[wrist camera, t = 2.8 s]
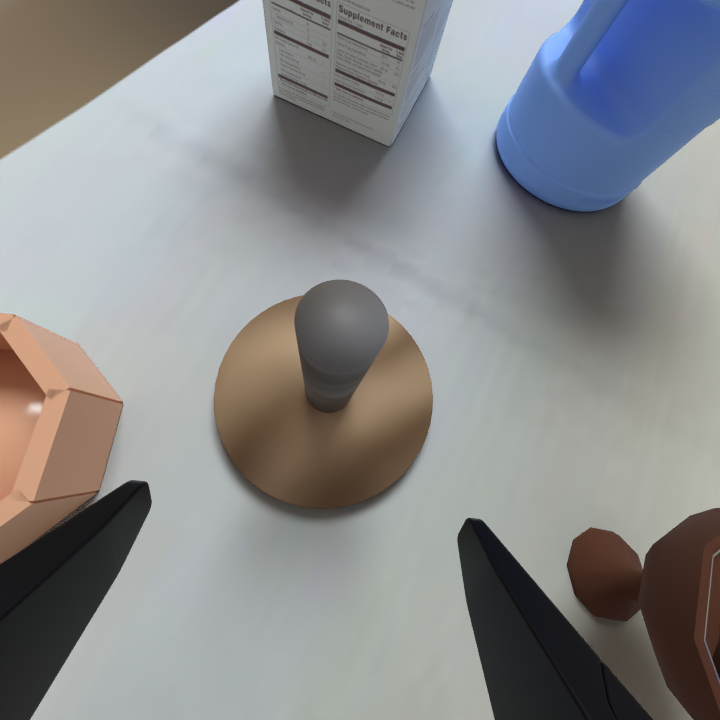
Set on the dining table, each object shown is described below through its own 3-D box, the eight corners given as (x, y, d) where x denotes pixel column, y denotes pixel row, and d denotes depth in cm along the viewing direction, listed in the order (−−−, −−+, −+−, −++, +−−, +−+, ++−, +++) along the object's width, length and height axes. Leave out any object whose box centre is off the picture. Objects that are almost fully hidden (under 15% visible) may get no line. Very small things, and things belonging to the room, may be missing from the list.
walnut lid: (465, 401, 23) (621, 347, 11) (316, 560, 19) (317, 742, 7) (336, 268, 25) (355, 102, 13) (174, 383, 21) (-17, 288, 9)
